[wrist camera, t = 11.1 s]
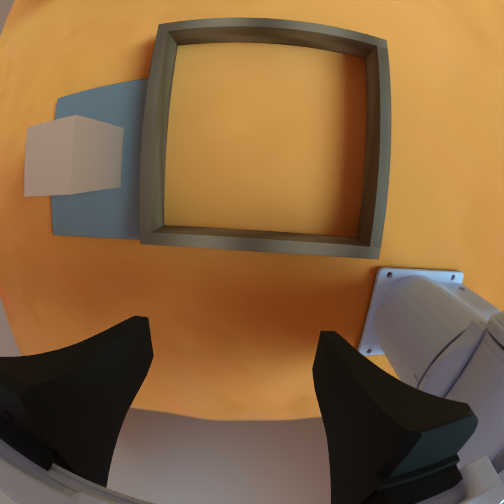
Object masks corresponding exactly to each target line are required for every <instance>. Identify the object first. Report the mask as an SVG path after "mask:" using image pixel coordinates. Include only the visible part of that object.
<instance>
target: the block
mask: <svg viewBox="0 0 504 504" xmlns="http://www.w3.org/2000/svg"><path fill="white" fill-rule="evenodd" d="M123 136H124V128H122V127H119V126H116V125H112V124H109V123H105V122H101V121H98V120H94V119H90V118H87V117H83V116H79V115H73V116H68V117H64V118H60V119H56V120H52V121H49V122H45V123H42V124H38V125H35V126H32V127H29V128H28V129H27V138H26V150H25V169H24V197H33V196H50V195H71V194H77V193H84V192H90V191H97V190H104V189H111V188H119V187H121V166H122V149H123Z"/></svg>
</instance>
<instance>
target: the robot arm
mask: <svg viewBox="0 0 504 504" xmlns="http://www.w3.org/2000/svg"><path fill="white" fill-rule="evenodd" d="M388 272H390V275H389V276H387V273H388ZM452 275H453V276H452ZM451 276H452V278H451ZM463 276H464V275H463V273H462V272H460V271H448V270H428V269H409V268H391V267H381V268H380V269H379V270H378V271H377V275H376V279H375V284H374V289H373V293H372V298H371V302H370V306H369V310H368V314H367V318H366V322H365V326H364V330H363V333H362V337H361V340H360V344H359V347H358V351H357V350H356V349H355V348H354V347H353V346H352V345H350V344H349V343H348V342H347V341H346V340H345V339H344V338H342V337H341V336H340V335H339V334H338V333H336V332H335V331H321V332H320V337H319V342H318V346H317V351H316V355H315V360H314V364H313V368H312V371H313V380H314V388H315V392H316V396H317V400H318V404H319V408H320V411H321V415H322V419H323V423H324V426H325V431H326V436H327V443H328V452H329V462H330V477H331V504H501V503H502V502H503V501H504V311H502V312H500V310H499V309H497V308H496V307H495V306H493V305H492V304H491V303H489V302H488V301H486V300H485V299H483V298H482V297H481V296H479V295H478V294H476V293H475V292H473V291H472V290H470V289H469V288H467V287H466V286H464V285H463V284H462V281H463ZM368 349H370V350H369V351H367V350H368ZM381 354H385V356H386V357H387V359H388V361H389V362H390V364H391V366H392V367H393V369H394V371H395V372H396V374H397V376H398V377H399V379H400V380H398V379H397V378H395V377H393V376H391V375H390V374H388V373H386V372H385V371H383V370H382V369H380V368H379V367H378V366H376V365H375V364H374V363H372V362H371V361H370V360H368V359H367V358H366V357H365V355H381ZM153 356H154V355H153V348H152V342H151V335H150V327H149V320H148V317H141V316H133V317H131V318H129V319H127V320H125V321H123V322H121V323H119V324H117V325H115V326H113V327H111V328H109V329H107V330H105V331H103V332H101V333H99V334H97V335H95V336H93V337H90V338H88V339H86V340H84V341H82V342H79V343H77V344H74V345H71V346H68V347H65V348H62V349H59V350H55V351H50V352H46V353H42V354H36V355H30V356H20V357H0V489H1V490H2V491H3V492H4V493H5V494H7V495H8V496H9V497H10V498H11V499H13V500H14V501H15V502H17V503H18V504H154V503H151V502H147V501H143V500H140V499H136V498H134V497H130V496H127V495H124V494H121V493H119V492H116V491H113V490H110V489H108V488H106V486H107V480H108V475H109V469H110V464H111V460H112V456H113V452H114V449H115V445H116V441H117V438H118V435H119V432H120V429H121V426H122V424H123V421H124V418H125V416H126V413H127V411H128V409H129V407H130V406H131V404H132V402H133V400H134V398H135V396H136V394H137V392H138V390H139V389H140V387H141V385H142V383H143V381H144V379H145V377H146V375H147V373H148V370H149V368H150V365H151V362H152V359H153Z"/></svg>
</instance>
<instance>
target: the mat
mask: <svg viewBox="0 0 504 504" xmlns="http://www.w3.org/2000/svg"><path fill="white" fill-rule="evenodd" d="M148 80H149V78H147V79H141V80H134V81H128V82H123V83H117V84H112V85H108V86H103V87H99V88H94V89H90V90H86V91H82V92H79V93H75V94H71V95H68V96H65V97H61V98H58V101H57V107H56V114H55V120H56V119H60V118H64V117H68V116H73V115H79V116H83V117H87V118H90V119H94V120H98V121H101V122H105V123H109V124H112V125H116V126H119V127H122V128H124V136H123V149H122V166H121V187H119V188H111V189H104V190H97V191H90V192H84V193H77V194H71V195H51V211H52V227H53V235H67V236H85V237H103V238H121V239H138V240H140V165H141V146H142V133H143V121H144V111H145V102H146V94H147V87H148Z"/></svg>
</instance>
